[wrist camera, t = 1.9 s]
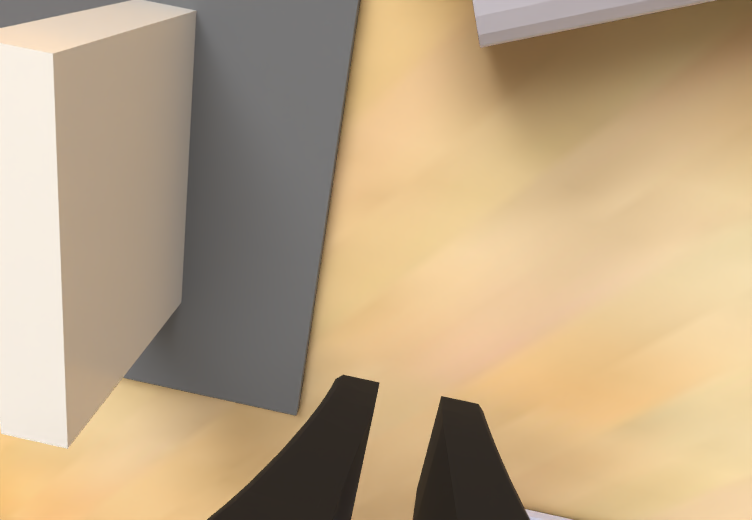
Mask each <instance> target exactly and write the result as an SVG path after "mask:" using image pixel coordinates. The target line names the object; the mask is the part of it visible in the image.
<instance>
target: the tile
mask: <svg viewBox="0 0 752 520" xmlns="http://www.w3.org/2000/svg"><path fill="white" fill-rule="evenodd" d="M195 27H196V10H191V9H186V8H181V7H176V6H171V5H166V4H161V3H156V2H151V1H146V0H130V1H126V2H121V3H116V4H112V5H107V6H102V7H98V8H93V9H88V10H83V11H79V12H74V13H69V14H65V15H60V16H55V17H51V18H46V19H41V20H36V21H32V22H27V23H22V24H18V25H13V26H8V27H4V28H0V426H1V434H5V435H9V436H14V437H18V438H23V439H27V440H31V441H36V442H40V443H45V444H49V445H54V446H58V447H63V448H67V449H68V448H69V446H70V445H71V444H72V442H73V441H74V440H75V439H76V437H77V436H78V435H79V433H80V432H81V431H82V430H83V428H84V427H85V426H86V424H87V423H88V422H89V421H90V419H91V418H92V417H93V415H94V414H95V413H96V412H97V410H98V409H99V408H100V406H101V405H102V404H103V403H104V401H105V400H106V399H107V397H108V396H109V395H110V394H111V392H112V391H113V390H114V388H115V387H116V386H117V385H118V383H119V382H120V381H121V379H122V378H123V377H124V376H125V374H126V373H127V372H128V370H129V369H130V368H131V367H132V365H133V364H134V363H135V361H136V360H137V359H138V358H139V356H140V355H141V354H142V352H143V351H144V350H145V349H146V347H147V346H148V345H149V343H150V342H151V341H152V340H153V338H154V337H155V336H156V334H157V333H158V332H159V331H160V329H161V328H162V327H163V325H164V324H165V323H166V322H167V320H168V319H169V318H170V316H171V315H172V314H173V313H174V311H175V310H176V309H177V307H178V306H179V305H180V303H181V300H182V281H183V261H184V242H185V222H186V203H187V183H188V164H189V144H190V125H191V105H192V86H193V66H194V47H195Z"/></svg>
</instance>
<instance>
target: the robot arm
mask: <svg viewBox="0 0 752 520" xmlns="http://www.w3.org/2000/svg"><path fill="white" fill-rule="evenodd" d="M378 387H379V382H374V381H369V380H365V379H360V378H356V377H351V376H346V375H342V376H340V377H339V378H337V379H335V381H334V383H333V385H332V387H331V389H330V390H329V392H328V393H327V395H326V396H325V398H324V399H323V401H322V402H321V404H320V405H319V406H318V408H317V409H316V410H315V412H314V413H313V414H312V415H311V417H310V418H309V419H308V421H307V422H306V423H305V424H304V425H303V426H302V428H301V429H300V430H299V431H298V432H297V433H296V435H295V436H294V437H293V438H292V439H291V440H290V441H289V443H288V444H287V445H286V446H285V447H284V448H283V449H282V450H281V452H280V453H279V454H278V455H277V456H276V457H275V458H274V459H273V460H272V461H271V462H270V463H269V464H268V465H267V466H266V467H265V468H264V469H263V470H262V471H261V472H260V473H259V474H258V475H257V476H256V477H255V478H254V479H253V480H252V481H251V482H250V483H249V484H248V485H246V486H245V487H244V488H243V489H242V490H241V491H240V492H239V493H238V494H237V495H235V496H234V497H233V498H232V499H231V500H230V501H229V502H227V503H226V504H225V505H224V506H223V507H222V508H220V509H219V510H218V511H217V512H216V513H214V514H213V515H212V516H211V517H210V518H208V519H207V520H351V516H352V511H353V506H354V502H355V497H356V492H357V488H358V483H359V478H360V473H361V469H362V464H363V459H364V454H365V450H366V445H367V440H368V436H369V431H370V426H371V421H372V417H373V412H374V407H375V402H376V397H377V392H378ZM413 520H572V519H568V518H563V517H559V516H554V515H550V514H545V513H541V512H536V511H532V510H527V509H524V506H523V504H522V502H521V500H520V498H519V496H518V494H517V492H516V490H515V488H514V486H513V484H512V482H511V480H510V478H509V475H508V473H507V471H506V469H505V466H504V464H503V462H502V459H501V457H500V455H499V452H498V450H497V448H496V445H495V443H494V440H493V438H492V435H491V432H490V430H489V427H488V424H487V421H486V419H485V416H484V413H483V410H482V409H481V407H480V406H479V404H476V403H471V402H466V401H462V400H457V399H452V398H448V397H443V396H441V400H440V404H439V408H438V411H437V415H436V419H435V423H434V427H433V430H432V434H431V438H430V442H429V446H428V449H427V453H426V457H425V461H424V465H423V468H422V472H421V476H420V480H419V483H418V487H417V493H416V501H415V508H414V515H413Z"/></svg>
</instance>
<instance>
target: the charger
mask: <svg viewBox="0 0 752 520" xmlns="http://www.w3.org/2000/svg"><path fill="white" fill-rule="evenodd" d="M472 1H473V7H474V13H475V19H476V25H477V31H478V37H479V44H480V48H482V47H487V46H492V45H497V44H502V43H507V42H512V41H517V40H522V39H527V38H532V37H537V36H541V35H546V34H551V33H556V32H561V31H566V30H571V29H576V28H581V27H586V26H591V25H596V24H601V23H606V22H611V21H616V20H621V19H626V18H631V17H636V16H641V15H646V14H651V13H656V12H661V11H666V10H671V9H676V8H681V7H686V6H691V5H696V4H701V3H706V2H710V1H715V0H472Z"/></svg>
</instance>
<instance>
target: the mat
mask: <svg viewBox="0 0 752 520" xmlns="http://www.w3.org/2000/svg"><path fill="white" fill-rule="evenodd" d="M126 1H130V0H0V28H4V27H8V26H13V25H18V24H22V23H27V22H32V21H36V20H41V19H46V18H51V17H55V16H60V15H65V14H69V13H74V12H79V11H83V10H88V9H93V8H98V7H102V6H107V5H112V4H116V3H121V2H126ZM146 1H151V2H156V3H161V4H166V5H171V6H176V7H181V8H186V9H191V10H196V27H195V47H194V66H193V86H192V105H191V125H190V144H189V164H188V183H187V203H186V222H185V242H184V261H183V281H182V300H181V303H180V305H179V306H178V307H177V309H176V310H175V311H174V313H173V314H172V315H171V316H170V318H169V319H168V320H167V322H166V323H165V324H164V325H163V327H162V328H161V329H160V331H159V332H158V333H157V334H156V336H155V337H154V338H153V340H152V341H151V342H150V343H149V345H148V346H147V347H146V349H145V350H144V351H143V352H142V354H141V355H140V356H139V358H138V359H137V360H136V361H135V363H134V364H133V365H132V367H131V368H130V369H129V370H128V372H127V373H126V374H125V376H124V377H123V378H127V379H131V380H136V381H140V382H145V383H150V384H154V385H159V386H163V387H168V388H172V389H177V390H181V391H186V392H191V393H195V394H200V395H204V396H209V397H213V398H218V399H223V400H227V401H232V402H236V403H241V404H245V405H250V406H254V407H259V408H264V409H268V410H273V411H277V412H282V413H286V414H291V415H295V416H296V415H297V412H298V409H299V404H300V397H301V391H302V384H303V377H304V371H305V364H306V358H307V351H308V344H309V338H310V331H311V324H312V318H313V311H314V304H315V298H316V291H317V285H318V278H319V271H320V265H321V258H322V251H323V245H324V238H325V232H326V225H327V218H328V212H329V205H330V198H331V192H332V185H333V178H334V172H335V165H336V159H337V152H338V145H339V139H340V132H341V125H342V119H343V112H344V106H345V99H346V92H347V86H348V79H349V72H350V66H351V59H352V52H353V46H354V39H355V33H356V26H357V19H358V13H359V6H360V0H146Z"/></svg>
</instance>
